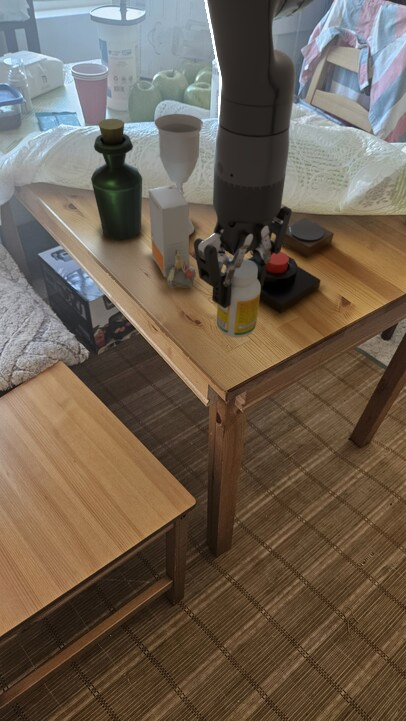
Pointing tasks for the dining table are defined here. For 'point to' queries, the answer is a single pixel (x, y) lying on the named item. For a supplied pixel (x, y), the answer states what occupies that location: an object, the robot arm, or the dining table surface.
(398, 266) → the dining table surface
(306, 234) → the stand
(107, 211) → the potion bottle
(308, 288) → the button housing
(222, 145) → the robot arm
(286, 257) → the button
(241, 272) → the supplement bottle
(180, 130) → the chalice
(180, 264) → the figurine
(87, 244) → the dining table surface
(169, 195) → the cosmetic box
